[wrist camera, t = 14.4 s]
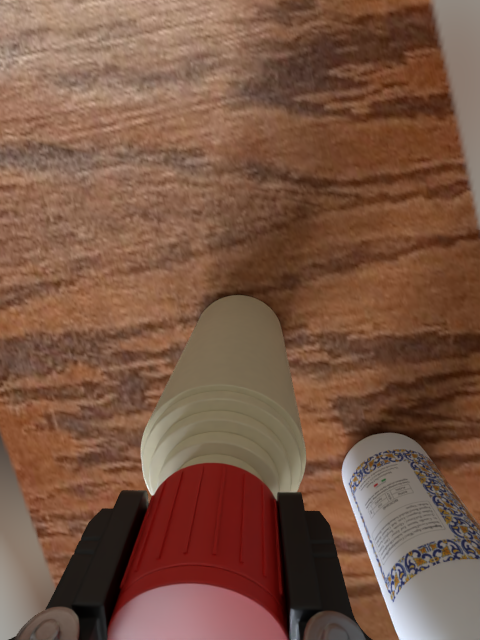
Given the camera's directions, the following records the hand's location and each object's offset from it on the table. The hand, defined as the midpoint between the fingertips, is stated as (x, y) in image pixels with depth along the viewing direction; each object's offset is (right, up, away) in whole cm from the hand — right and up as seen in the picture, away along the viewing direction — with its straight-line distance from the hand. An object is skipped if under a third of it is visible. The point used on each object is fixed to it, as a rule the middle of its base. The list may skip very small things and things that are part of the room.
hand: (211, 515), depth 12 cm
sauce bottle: (+1, +5, +16) cm, 17 cm away
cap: (0, 0, 0) cm, 0 cm away
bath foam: (+13, -6, +20) cm, 24 cm away
